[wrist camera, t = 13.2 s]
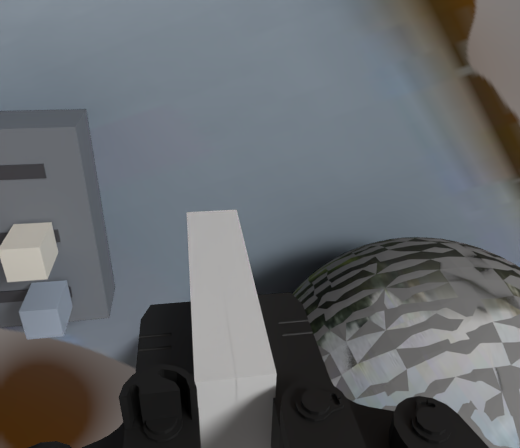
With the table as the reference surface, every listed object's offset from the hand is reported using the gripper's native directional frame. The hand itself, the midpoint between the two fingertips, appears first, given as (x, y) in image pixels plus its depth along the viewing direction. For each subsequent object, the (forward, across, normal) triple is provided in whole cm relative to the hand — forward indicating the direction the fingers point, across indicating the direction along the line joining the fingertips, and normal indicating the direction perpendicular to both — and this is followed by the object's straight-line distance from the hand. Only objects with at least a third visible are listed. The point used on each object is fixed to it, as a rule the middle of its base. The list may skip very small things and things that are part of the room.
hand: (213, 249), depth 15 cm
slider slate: (+24, -14, -19) cm, 34 cm away
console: (+29, -16, -13) cm, 36 cm away
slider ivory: (+24, -14, -13) cm, 31 cm away
